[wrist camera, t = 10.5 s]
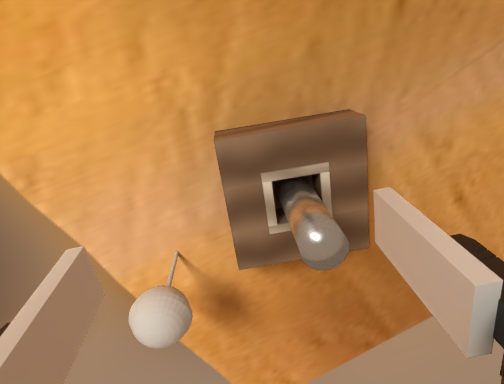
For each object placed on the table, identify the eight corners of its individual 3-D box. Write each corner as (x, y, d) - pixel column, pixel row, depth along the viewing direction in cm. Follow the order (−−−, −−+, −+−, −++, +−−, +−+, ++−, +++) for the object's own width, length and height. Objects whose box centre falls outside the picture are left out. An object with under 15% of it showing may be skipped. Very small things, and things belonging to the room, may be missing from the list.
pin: (273, 173, 41) (298, 232, 27) (306, 168, 41) (347, 224, 27) (277, 203, 43) (303, 274, 29) (309, 198, 43) (350, 266, 29)
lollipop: (196, 229, 44) (183, 308, 30) (203, 267, 46) (194, 357, 32) (148, 236, 44) (113, 318, 30) (158, 274, 46) (129, 366, 32)
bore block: (215, 131, 40) (213, 141, 35) (349, 109, 40) (367, 116, 35) (237, 248, 46) (239, 271, 41) (354, 228, 46) (370, 249, 41)
